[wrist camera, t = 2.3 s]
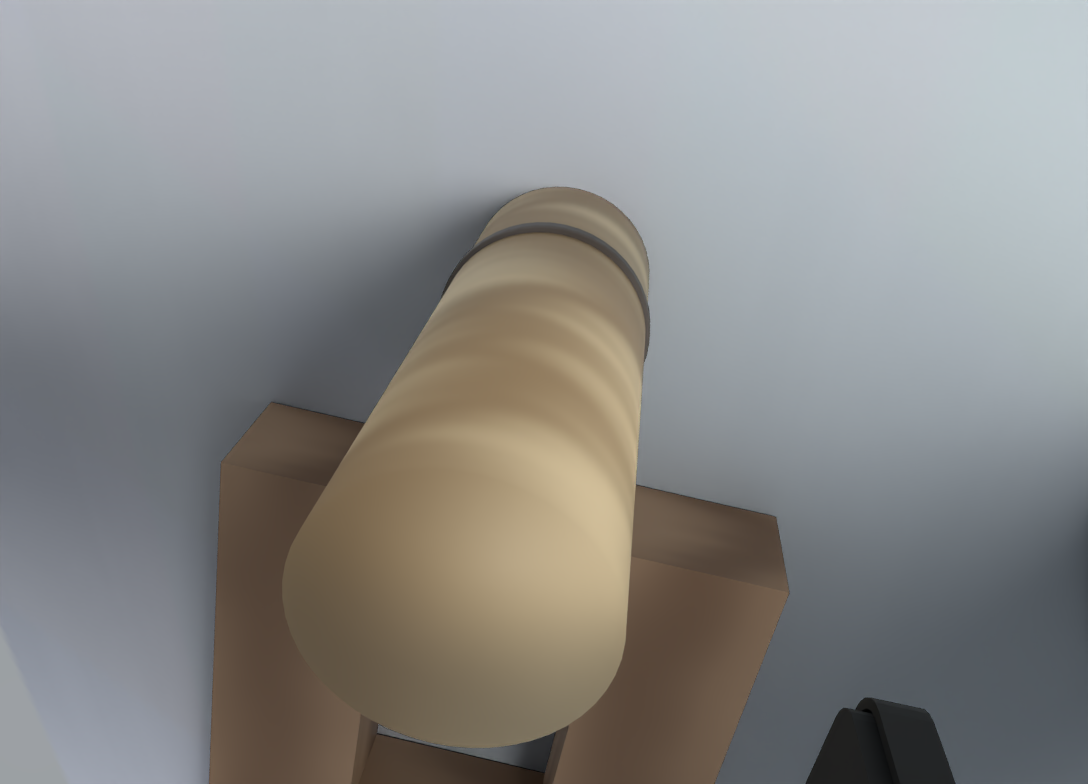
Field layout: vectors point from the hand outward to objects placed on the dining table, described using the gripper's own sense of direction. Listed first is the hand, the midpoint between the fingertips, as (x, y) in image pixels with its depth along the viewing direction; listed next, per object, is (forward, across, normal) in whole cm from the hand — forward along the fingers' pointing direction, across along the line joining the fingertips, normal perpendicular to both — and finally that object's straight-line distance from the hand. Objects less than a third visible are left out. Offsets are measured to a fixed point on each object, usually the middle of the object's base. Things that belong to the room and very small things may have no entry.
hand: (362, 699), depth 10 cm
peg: (+14, -1, 0) cm, 14 cm away
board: (+13, -1, +13) cm, 19 cm away
